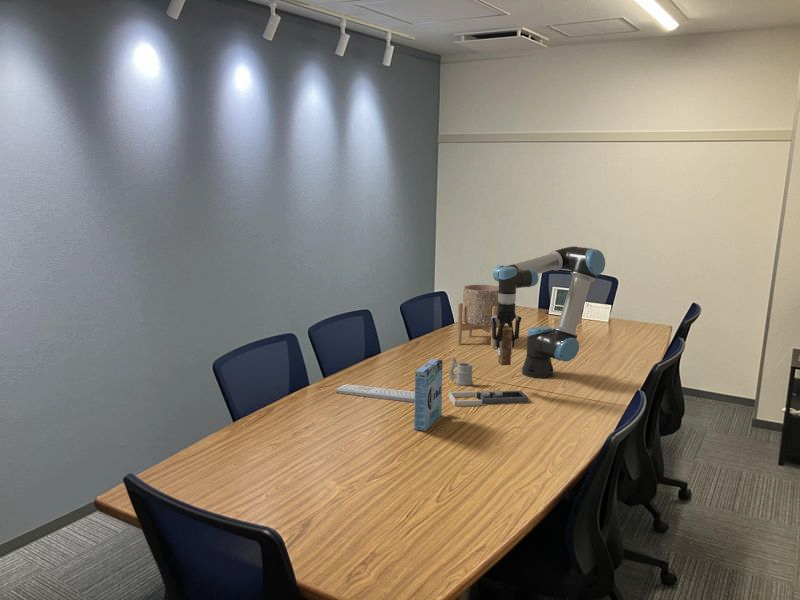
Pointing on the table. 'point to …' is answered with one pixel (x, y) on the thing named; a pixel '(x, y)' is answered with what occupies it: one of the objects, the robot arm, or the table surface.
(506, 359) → the tan block
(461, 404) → the tray
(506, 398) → the dark grey open case
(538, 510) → the table surface
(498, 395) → the chip
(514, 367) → the table surface
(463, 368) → the mug
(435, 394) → the gum box
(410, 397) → the keyboard
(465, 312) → the planter
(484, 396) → the grey squarish block
